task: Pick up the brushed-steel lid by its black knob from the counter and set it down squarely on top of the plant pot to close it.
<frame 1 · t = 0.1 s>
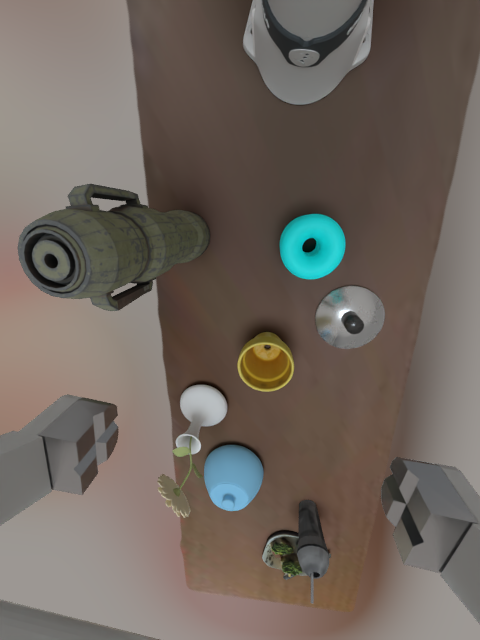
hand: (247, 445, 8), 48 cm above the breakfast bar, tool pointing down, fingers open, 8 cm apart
beverage cup: (307, 505, 74), on the breakfast bar
donuts: (306, 243, 52), on the breakfast bar
flower in vase: (206, 403, 67), on the breakfast bar
steel lid: (348, 316, 55), on the breakfast bar
plant pot: (267, 345, 60), on the breakfast bar
olive green textured cylinder: (188, 235, 54), on the breakfast bar
salad plate: (294, 548, 81), on the breakfast bar
sugar bowl: (235, 462, 72), on the breakfast bar
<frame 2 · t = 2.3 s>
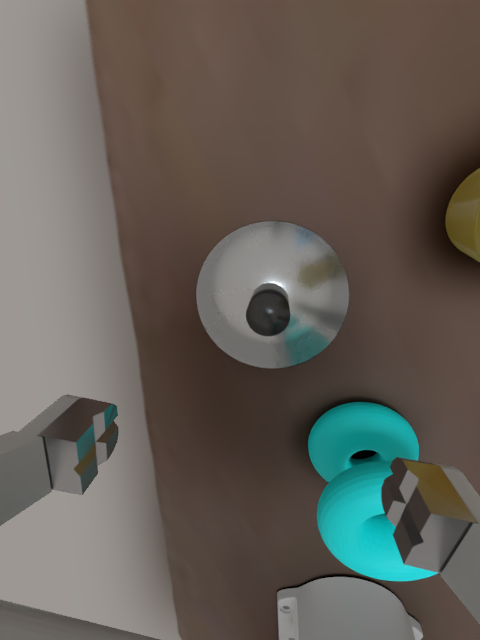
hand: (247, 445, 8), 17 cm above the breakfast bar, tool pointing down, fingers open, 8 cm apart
donuts: (356, 435, 28), on the breakfast bar
steel lid: (270, 297, 25), on the breakfast bar
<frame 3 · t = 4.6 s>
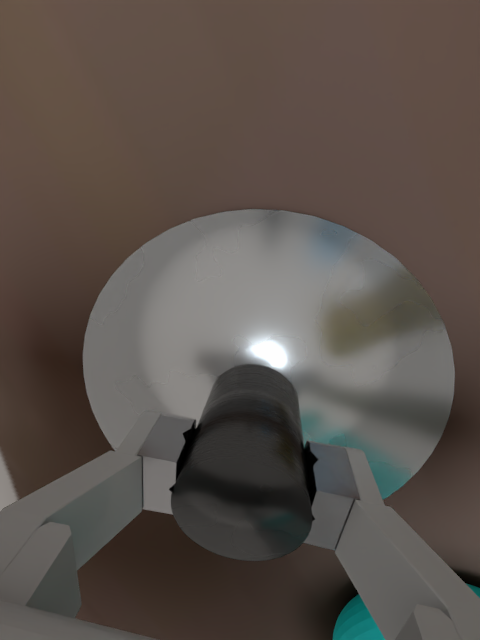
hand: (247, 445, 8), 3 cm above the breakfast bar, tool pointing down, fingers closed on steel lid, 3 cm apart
donuts: (421, 618, 15), on the breakfast bar
steel lid: (255, 384, 11), on the breakfast bar, touching gripper
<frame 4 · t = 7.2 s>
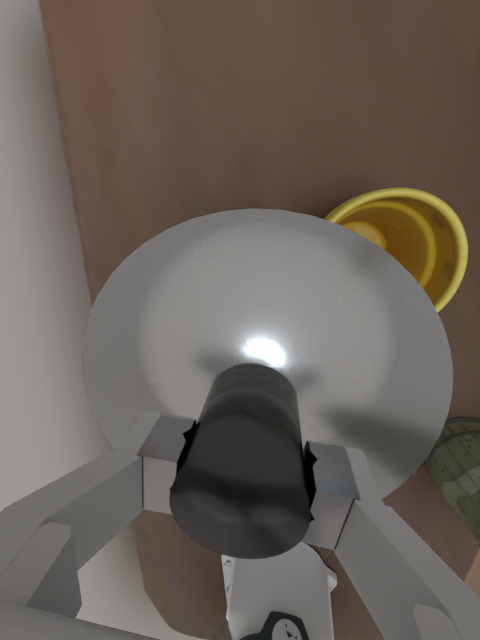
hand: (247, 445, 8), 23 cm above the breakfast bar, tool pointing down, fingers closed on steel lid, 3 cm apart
steel lid: (254, 384, 11), point 20 cm above the breakfast bar, touching gripper
plant pot: (349, 253, 28), on the breakfast bar
olive green textured cylinder: (456, 444, 34), on the breakfast bar
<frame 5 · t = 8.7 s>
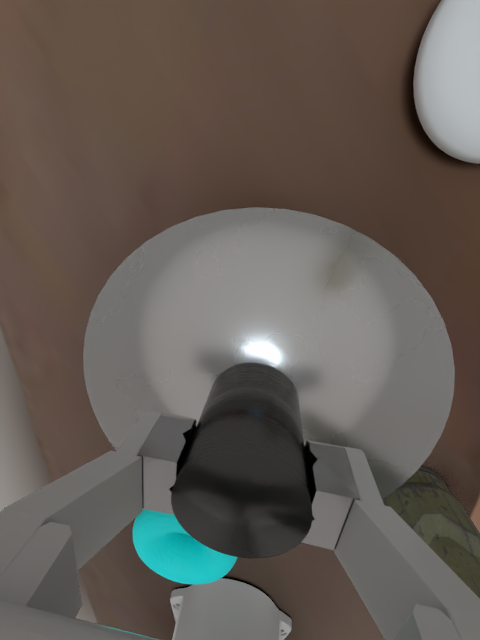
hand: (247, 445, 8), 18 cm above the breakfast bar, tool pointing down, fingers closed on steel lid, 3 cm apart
donuts: (208, 461, 34), on the breakfast bar
steel lid: (255, 383, 11), point 15 cm above the breakfast bar, touching gripper
olive green textured cylinder: (403, 491, 31), on the breakfast bar
when the fingers open (15 cm above the breakfast bar, at t = 10.0 s): steel lid drops 2 cm, resting on plant pot.
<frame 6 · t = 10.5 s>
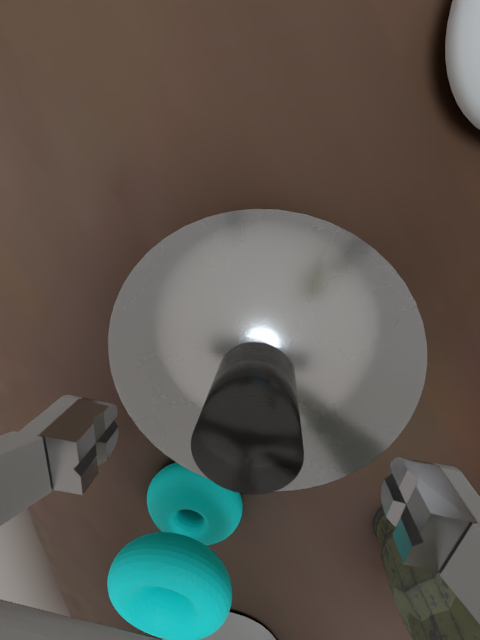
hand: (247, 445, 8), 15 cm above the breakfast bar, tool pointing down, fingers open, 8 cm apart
donuts: (198, 488, 30), on the breakfast bar
steel lid: (257, 362, 13), point 10 cm above the breakfast bar, touching plant pot
olive green textured cylinder: (418, 522, 28), on the breakfast bar
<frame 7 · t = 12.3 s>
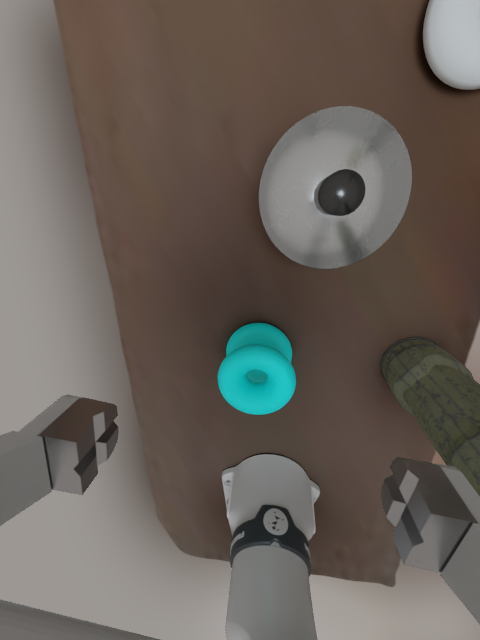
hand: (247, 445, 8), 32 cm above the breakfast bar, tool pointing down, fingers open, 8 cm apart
donuts: (259, 348, 43), on the breakfast bar
flower in vase: (475, 15, 27), on the breakfast bar
steel lid: (329, 196, 25), point 10 cm above the breakfast bar, touching plant pot
olive green textured cylinder: (410, 361, 41), on the breakfast bar
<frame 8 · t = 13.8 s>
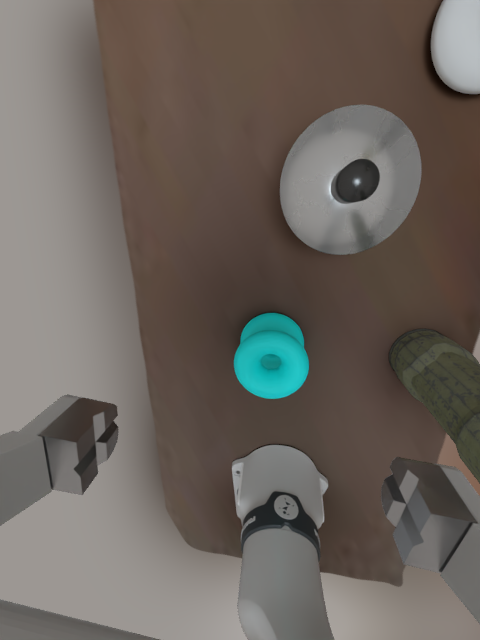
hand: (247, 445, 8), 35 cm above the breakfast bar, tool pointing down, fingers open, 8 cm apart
donuts: (271, 338, 45), on the breakfast bar
flower in vase: (479, 28, 30), on the breakfast bar
steel lid: (344, 187, 28), point 10 cm above the breakfast bar, touching plant pot
olive green textured cylinder: (418, 353, 43), on the breakfast bar
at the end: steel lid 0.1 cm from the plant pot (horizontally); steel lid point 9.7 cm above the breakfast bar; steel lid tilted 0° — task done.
